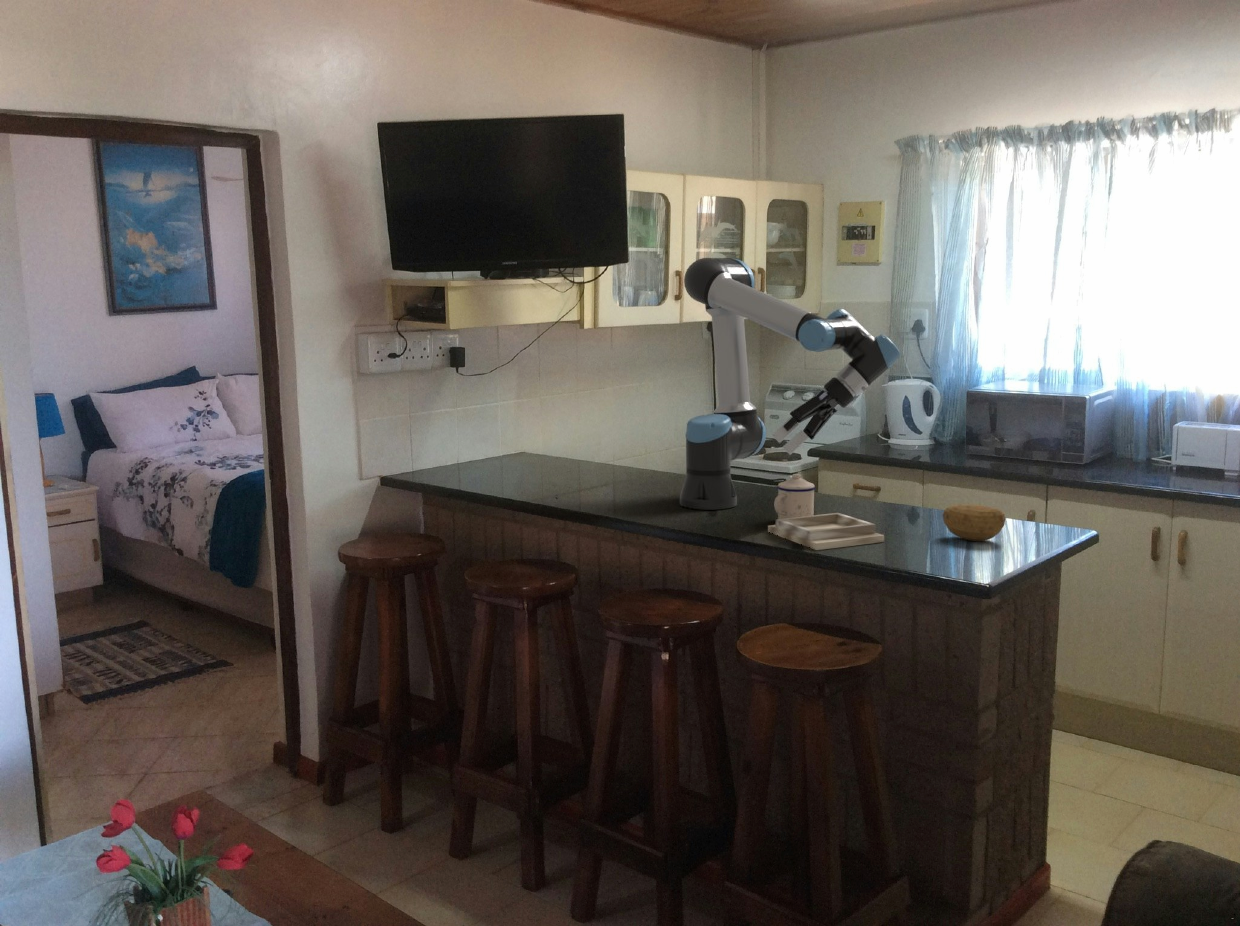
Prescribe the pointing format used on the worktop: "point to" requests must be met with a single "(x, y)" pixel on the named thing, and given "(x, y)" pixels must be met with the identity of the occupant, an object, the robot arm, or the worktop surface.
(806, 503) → the teacup with lid
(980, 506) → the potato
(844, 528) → the cradle board
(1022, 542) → the worktop surface
